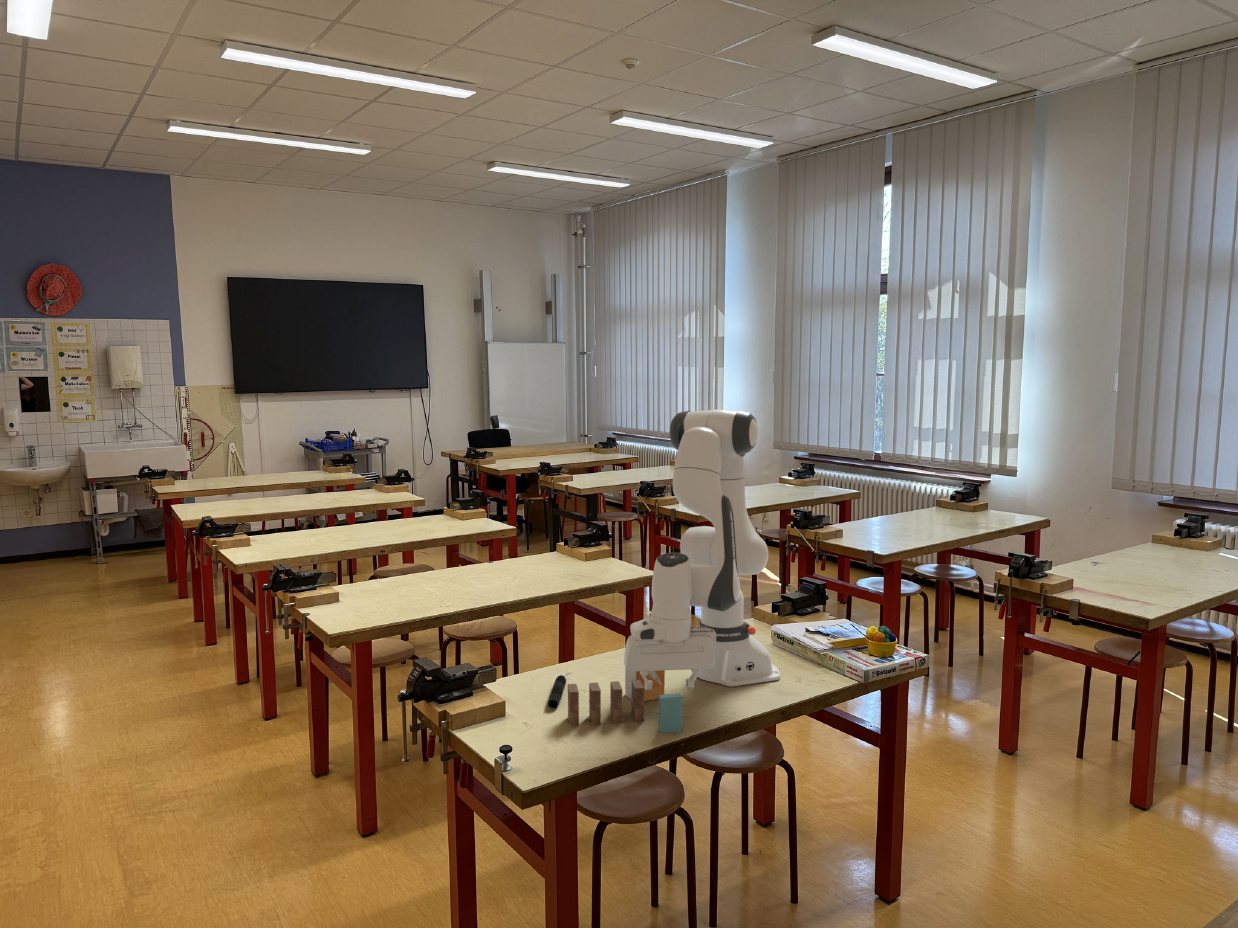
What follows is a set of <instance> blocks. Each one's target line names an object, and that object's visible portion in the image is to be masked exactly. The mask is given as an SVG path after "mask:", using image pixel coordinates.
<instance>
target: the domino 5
mask: <svg viewBox="0 0 1238 928" xmlns="http://www.w3.org/2000/svg"><path fill="white" fill-rule="evenodd" d="M683 699H684V698H683V695H682V694H681V693H666V694H665V693H664V694H663V695H659V699H658V729H657V730H658V731H659V733H661V734H662V733H673V732H674V733H675V732H676V733H677V732H683Z"/></svg>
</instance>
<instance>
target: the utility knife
mask: <svg viewBox="0 0 1238 928" xmlns="http://www.w3.org/2000/svg"><path fill="white" fill-rule="evenodd" d="M570 674H572V672H563V673H561V674H559V675H558V676H556V678H555V680H554V682H553V686H552V688H551V691H550V693H549V697H548V701H547V706H548V707H549V708H550V709H556V708H558V707H559V705H560V701H561V699H562V697H563V694H564V690H565V688H566V687H565V686H566V684H567V679H566V676H568V675H570Z"/></svg>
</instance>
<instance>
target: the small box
mask: <svg viewBox="0 0 1238 928" xmlns="http://www.w3.org/2000/svg"><path fill="white" fill-rule="evenodd" d="M624 667H625V666H624ZM624 669H625V670H624V671H625V674H624V679H625V680H624V682H625V683H624V684H625V685H624V694H625V695H626V697H628V698H629V699H630V700H631V701H632V680H640V681H641V683H642V685H643V687H644V702H648V701H654V700H659V695H663V694H665V686H666V685H665V683H666V682H665V680H666V676H665V672H666V670H660V671H648V675H645V676H646V678H647V680H651V681H652V683H653V684H652V690H645V681H644V679H643V677H642V676H641V674H640V671H629V670H628V669H627V668H626V667H625V668H624Z"/></svg>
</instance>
